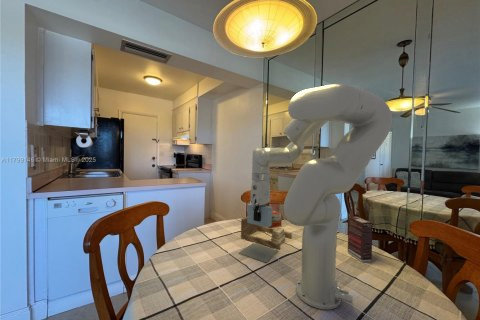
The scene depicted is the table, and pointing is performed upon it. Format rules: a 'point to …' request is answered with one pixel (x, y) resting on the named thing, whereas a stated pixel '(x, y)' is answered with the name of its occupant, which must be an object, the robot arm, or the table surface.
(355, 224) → the supplement box
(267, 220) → the grey blue block
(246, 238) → the rack
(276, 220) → the medicine box
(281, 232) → the offcut stack
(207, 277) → the table surface
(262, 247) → the mat
